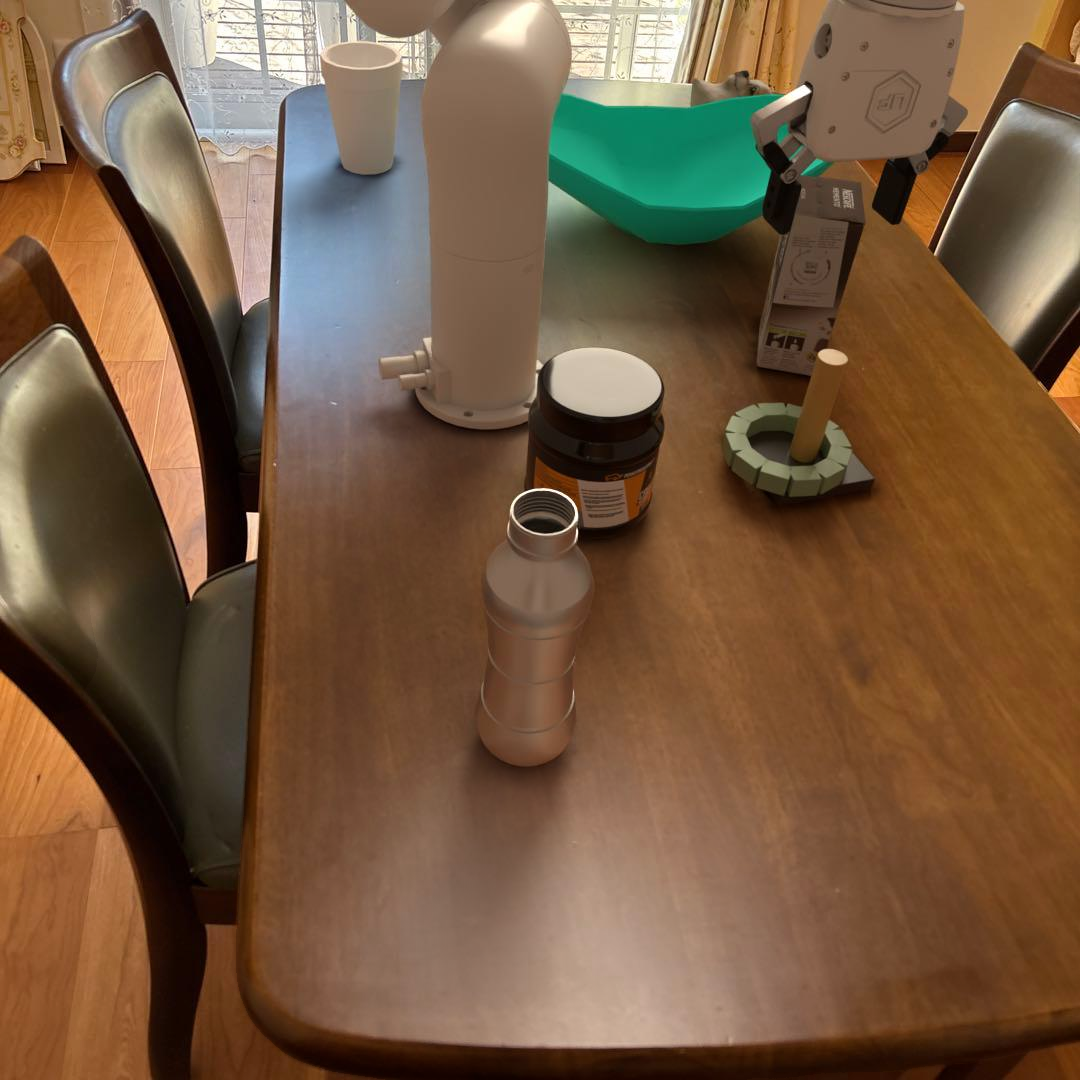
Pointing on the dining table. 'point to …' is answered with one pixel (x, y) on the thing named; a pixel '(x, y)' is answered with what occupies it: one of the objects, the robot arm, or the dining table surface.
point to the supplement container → (597, 436)
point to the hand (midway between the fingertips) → (830, 221)
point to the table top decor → (665, 165)
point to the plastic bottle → (533, 630)
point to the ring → (776, 474)
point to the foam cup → (363, 102)
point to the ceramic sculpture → (727, 88)
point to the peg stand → (813, 432)
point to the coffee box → (810, 274)
